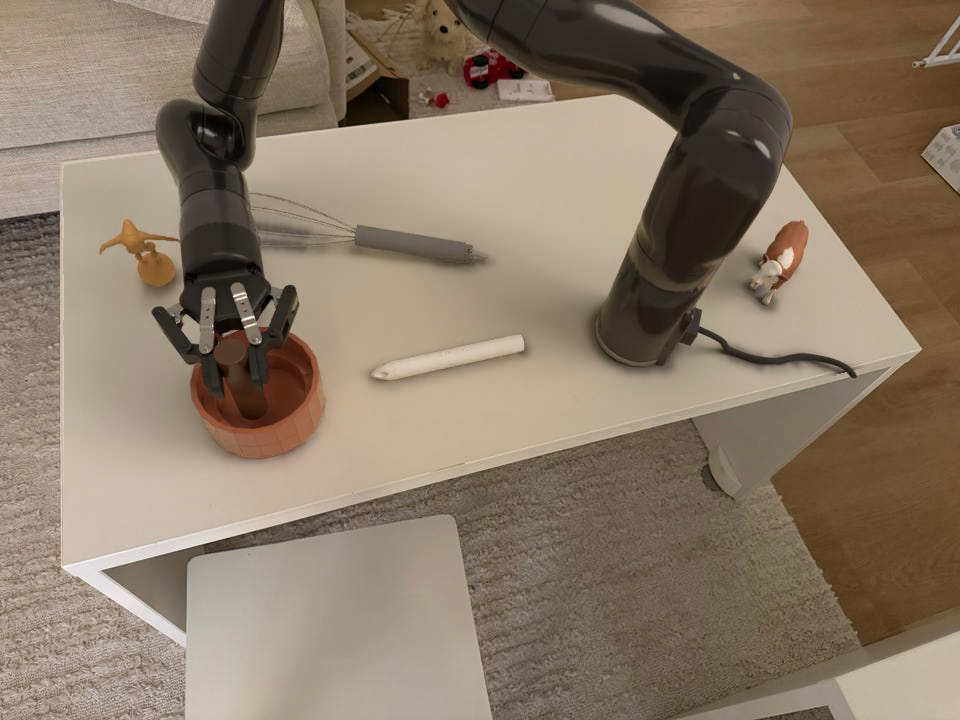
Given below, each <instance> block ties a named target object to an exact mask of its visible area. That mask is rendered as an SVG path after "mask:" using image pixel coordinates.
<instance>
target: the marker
mask: <svg viewBox="0 0 960 720" xmlns="http://www.w3.org/2000/svg"><path fill="white" fill-rule="evenodd" d="M524 350H525V341H524V338H523V336H522V334H520V333H519V334H512V335H507V336H503V337H497V338H494V339H488V340H485V341H480V342H475V343H471V344H466V345H461V346H457V347H456V346H455V347H452V348H448V349H443V350H438V351H433V352H427V353H423V354H420V355H414V356H410V357H405V358H400V359H396V360H392V361H388V362H385V363H383V364H381V365H379V366H378V367H377V368H375V369H374V370H373V372H372V373H371V374H370V376H371V377H373V378H374V379H379V380H383V381H394V380H399V379H403V378H408V377H412V376H417V375H421V374H425V373H431V372H435V371H440V370H443V369H448V368H453V367H457V366H462V365H466V364H471V363H476V362H481V361H485V360H490V359H492V358H493V359H494V358H498V357H503V356H507V355H513V354H516V353H520V352H524Z"/></svg>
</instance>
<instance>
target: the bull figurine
mask: <svg viewBox="0 0 960 720" xmlns="http://www.w3.org/2000/svg"><path fill="white" fill-rule="evenodd" d="M808 241H809V228H808V226H807V225H806V224H805V220H804V219H800V220H799V221H797V220H791V221H789V222H788V223H787V224H785V225H783V226H782V227H781V229H780V230H779V231H778V232H777V234H776V235H775V236H774V240H773V241H772V242H771V243H769V245H768V247H767V249H766V251H765V253H762V260H761V261H760V262H759V263H758V267H759V270H758V272H756V274H755V275H753V276H752V277H751V279H750V280H751V283H750V284H749V286H748V287H749V289H750V290H751V291H755V290H757V289H758V288H759V287H760V286H761V285H764V287H765V288H766V287H767V288H768V287H769V286H771V287H770V289H769V291H768V293H766V294H765V296H763V298H762V299H761V302H762V304H763V305H765V306H768V305H769V304H770V302H771V300H772V297H773V295H774V294H776V293H777V292H778V290H779V289H780V288H781V287H782V286H783V284H785V283H786V282H789V280H790V279H791V278H792V277H793V275H794V273H795V271H796V270H797V269H798V267H799V266H800V264H801V262H802V261H803V258H804V252H805V249H806V247H807V244H808Z"/></svg>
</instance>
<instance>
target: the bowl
mask: <svg viewBox="0 0 960 720" xmlns="http://www.w3.org/2000/svg"><path fill="white" fill-rule="evenodd" d="M268 327H269V326H260V325H259V326H258V328H259V330H260V333H263V332H265V331H267V330H268ZM229 338H235V339H238V340H240V341H242V342H243V343H244V344H245V346H246V348H247V347H249V340H248V337H247V335H246V332H245V330H234V331H233V332H229V333H228V334H226V335H223V340H225V339H229ZM223 340H222V341H223ZM266 358H267V365H268V371H269V378H270V379H269V382H268V384H263V389H264V390H263V393H264V395H265V398H266V401H267V403H268V410H267V412H266V414H265V415H264V416H263V417H261V418H260V419H257V420H248V419H245V418H244V417H243V416H242V415H241V413H240V411H239V409H238V407H237V405H236V403H235V401H234V398H233V396H232V394H231V392H230V390H229V388H228V386H227V384H226V381H225V379H224V377H223V382H224V391H225V398H222V399H216V397H215V395H214V394H212V395H210V394H209V392H208V391H207V389H206V387H205V385H204V383H203V375H202V364H200V363H196V364H194V365H193V369H192V373H191V378H190V381H189V389H190V390H189V392H190V398H191V402H192V404H193V406H194V407H195V409H196V411H197V413H198V415H199V417H200V418H201V420H202V421H203V423H204V425H205V427H206V429H207V430H208V432H209V433H210V435H211V437H212V439H213V440H214V442H216V443H218V444H219V446H221V447H222V448H223V449H225V450H226V451H227V452H230V453H233V454H235V455H239V456H241V457H245V458H258V459H265V458H270V457H274V456H278V455H283V454H286V453H287V452H289V451H291V450H293V449H295V448H296V447H298V446H300V445H301V444H303V443H304V442H305V441H306V440H307V439H308V438H309V437H311V435H312V434H313V433H314V432H315V431H316V429H317V427H318V425H319V423H320V422H321V419H322V418H323V415H324V410H325V404H326V396H325V392H324V387H323V383H322V382H323V381H322V377H321V373H320V369H319V363H318V360H317V357H316V354H315V353H314V352H313V350H312V349H311V347H310V346H309V344H308V343H307V342H305V341H304V340H303V339H301V338H300V337H299V336H298V335H296V334H294V333H293V332H291V331H290V332H289V335H288V337H287V340H286V343H285V345H284V347H283V348H281V349H275V348H274V349H272V350H270V351H269V352H268V353H267V355H266Z"/></svg>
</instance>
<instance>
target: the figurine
mask: <svg viewBox="0 0 960 720" xmlns="http://www.w3.org/2000/svg"><path fill="white" fill-rule="evenodd" d="M146 241H147V242H146ZM153 241H166V242H177V243H180V238H179V239H178V238H176V237H174V236H166V235H161V234H154V233H153V234H152V233H147V232H144V231H142V230H140V229H138V228H137V227H136V225H135V224H134V223H133V221H132V220H131V219H128V218H126V219H124V220H123V222H122V229H121V232H120V233H119V234H118V235H117V236H115V237H113V238H112V239H109V240H108V241H106V242H104V243H103V244H101V246H100V247H99V249H98V252H99V255H100V256H102V255H103V254H104V252H105V251H106V249H108V248H112V247H113V246H116V245H121V246H123V247H125V250H126V252H127V253H128V254H130V255H134V258H135V260H136V261H138V262H137V267H136V269H137V270H136V271H137V274H138V276H139V277H140V279H141V280H142V281H143V282H144V283H145V284H147V285H149V286H153V287H161V286H165V285H167V284H169V283H170V282H171V281H172V280H173V278H174V277H175V275H176V266H175V263H174V261H173V260H172V259H171V257H170V256H169V255H167V254H165V253H164V252H160V251H157V250H156V243H155V242H153ZM144 252H147V253H145V254H143V255H142V253H144Z"/></svg>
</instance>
